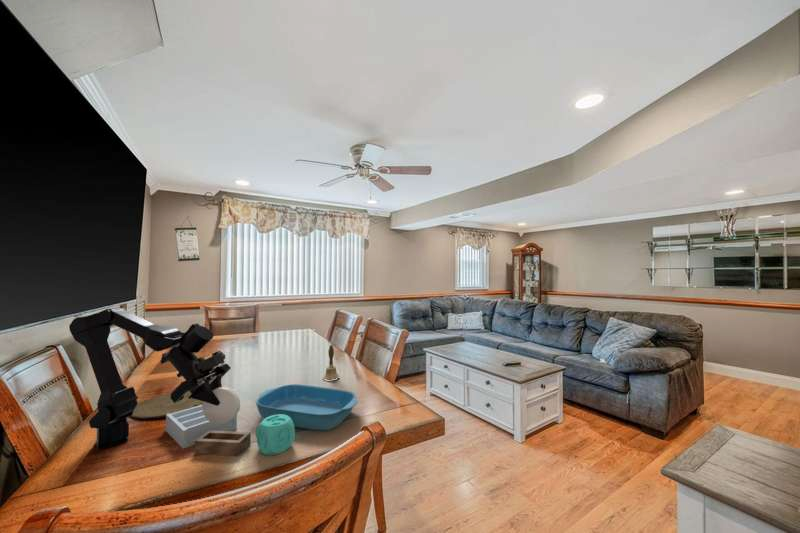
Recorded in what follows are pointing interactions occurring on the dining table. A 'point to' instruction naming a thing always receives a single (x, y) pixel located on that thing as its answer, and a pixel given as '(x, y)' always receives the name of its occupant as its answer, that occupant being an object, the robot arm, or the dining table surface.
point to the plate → (222, 406)
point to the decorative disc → (163, 406)
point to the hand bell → (331, 366)
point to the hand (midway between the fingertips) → (221, 402)
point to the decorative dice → (275, 434)
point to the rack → (193, 425)
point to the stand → (223, 442)
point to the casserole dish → (307, 405)
